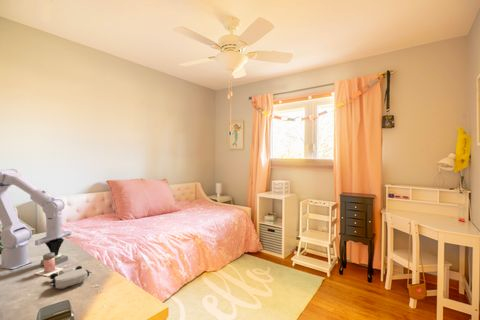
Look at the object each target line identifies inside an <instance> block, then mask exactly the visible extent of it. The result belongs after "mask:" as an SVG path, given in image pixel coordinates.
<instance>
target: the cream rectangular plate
mask: <svg viewBox="0 0 480 320" xmlns="http://www.w3.org/2000/svg"><path fill="white" fill-rule="evenodd" d="M62 269H64V268H62V267H56V266H55V270H54V271H52V272H48V273H45V272H44V269H42V270H39V271H37V272H34V275H37V276H38V275H39V276H41V277H42V276H43V277H48V276H49V275H51V274H53V273H56V274H58V273H59V272H60V271H61V270H62Z"/></svg>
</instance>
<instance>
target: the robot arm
mask: <svg viewBox="0 0 480 320" xmlns="http://www.w3.org/2000/svg"><path fill="white" fill-rule="evenodd" d="M12 185H13V186H16V187H17V188H19V189H20V190H22V191H23V192H26V193H27V194H28V195H29V196H30V198H29V199H30V200H31V201H33V202H34V203H35V204H37V205H38V206H40V207H41V208H42V212H43V213H44V214H45V224H46V225H45V231H46V233H45V234H46V236H44V237H42V238H38V239H37V240H35V241H34V245H35V246H38V247H39V246H41V245H43V244H45V245H46V246H47V248H48V250H49V253H52V252H54V253H55V256H57V255H58V253H60V248H61V247H62V244H63V243H64V241H65V240H64V238H65V237H68V236H72V231H71V230H67V231H63V213H62V212H63V210H64V209H65V202H64V201H63V200H62V199H60V198H56V197H55V196H52V195H51V194H50V193H48V191H47V190H46V189H38V188H37V187H35V185H33V184H32V183H31V182H29V181H28V180H27V179H26V178H25V176H23V174H22V173H21V172H19V171H18V170H17V169H14V168H9V169H0V223H1V225H2V228H3V229H2V230H1V231H0V243H1V246H2V247H3V248H2V249H1V254H0V256H1V257H0V259H1V261H0V262H1V265H0V268H2V269H8V270H15V269H18V268H22V267H23V266H26V265H29V264H31V263H33V262H34V260H29V241H30V240H31V238H32V236H33V232H32V230H31V229H29V227H27V225H26V224H25V223H23V222H21V221H20V219H19V216H18V215H17V212H16V210H15V208H14V206H13V203H12V202H11V199H10V197H9V194H8V192H7V191H8V189H9V188H10V187H11V186H12Z"/></svg>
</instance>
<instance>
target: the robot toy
mask: <svg viewBox="0 0 480 320" xmlns="http://www.w3.org/2000/svg"><path fill="white" fill-rule="evenodd" d="M90 273H91V274H92V273H93V271H91V270H90V271H89V270H87V269H85V268H83V266H82V265H78V266H76V268H75V266H68V267H64V268H63V269H62V270H61V271H60V272H58V273H53V274H51V275H49V276H48V279H50V280H51V282H50V283H49V285H50V286H51V287H52V288H56V289H60V290H62V289H66V288H68V287H70V286H74V285H77V284H81V283H83V281H85V280H86V279H88V278H89V277H90V276H89V275H90Z"/></svg>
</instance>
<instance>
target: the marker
mask: <svg viewBox="0 0 480 320" xmlns="http://www.w3.org/2000/svg"><path fill="white" fill-rule="evenodd" d="M42 260H44V265H43V270H44V272H45V273H48V272H52V271H54V270H55V267H56V265H55V253H54V252H52V253H51V252H48V253H44V254H43V255H42Z"/></svg>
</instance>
